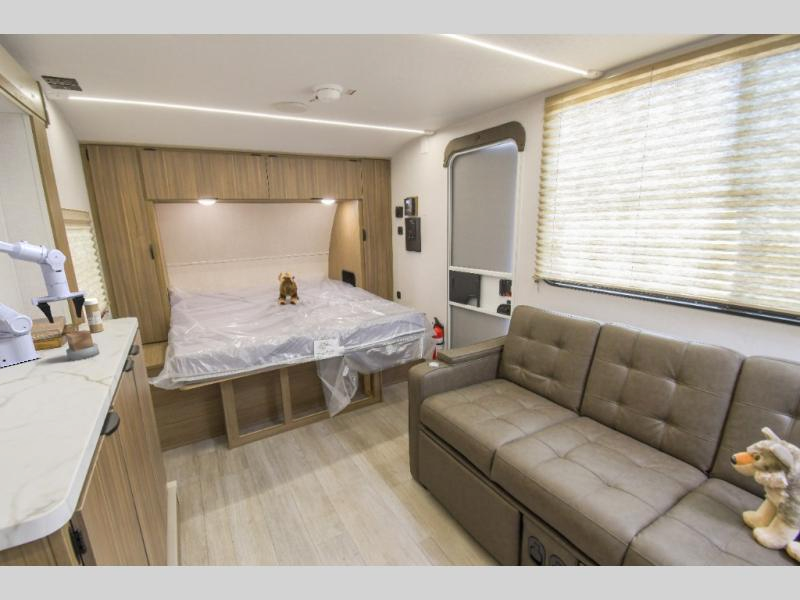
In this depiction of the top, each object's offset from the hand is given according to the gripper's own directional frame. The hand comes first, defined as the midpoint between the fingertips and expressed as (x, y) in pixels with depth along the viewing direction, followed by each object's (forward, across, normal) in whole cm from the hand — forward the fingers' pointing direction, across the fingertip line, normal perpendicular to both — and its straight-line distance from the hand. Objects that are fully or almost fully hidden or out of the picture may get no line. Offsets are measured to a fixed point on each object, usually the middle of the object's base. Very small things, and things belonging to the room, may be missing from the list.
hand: (65, 320), depth 131 cm
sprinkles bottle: (+10, +11, +11) cm, 18 cm away
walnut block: (+6, -2, -18) cm, 19 cm away
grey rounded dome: (+9, -2, -18) cm, 21 cm away
